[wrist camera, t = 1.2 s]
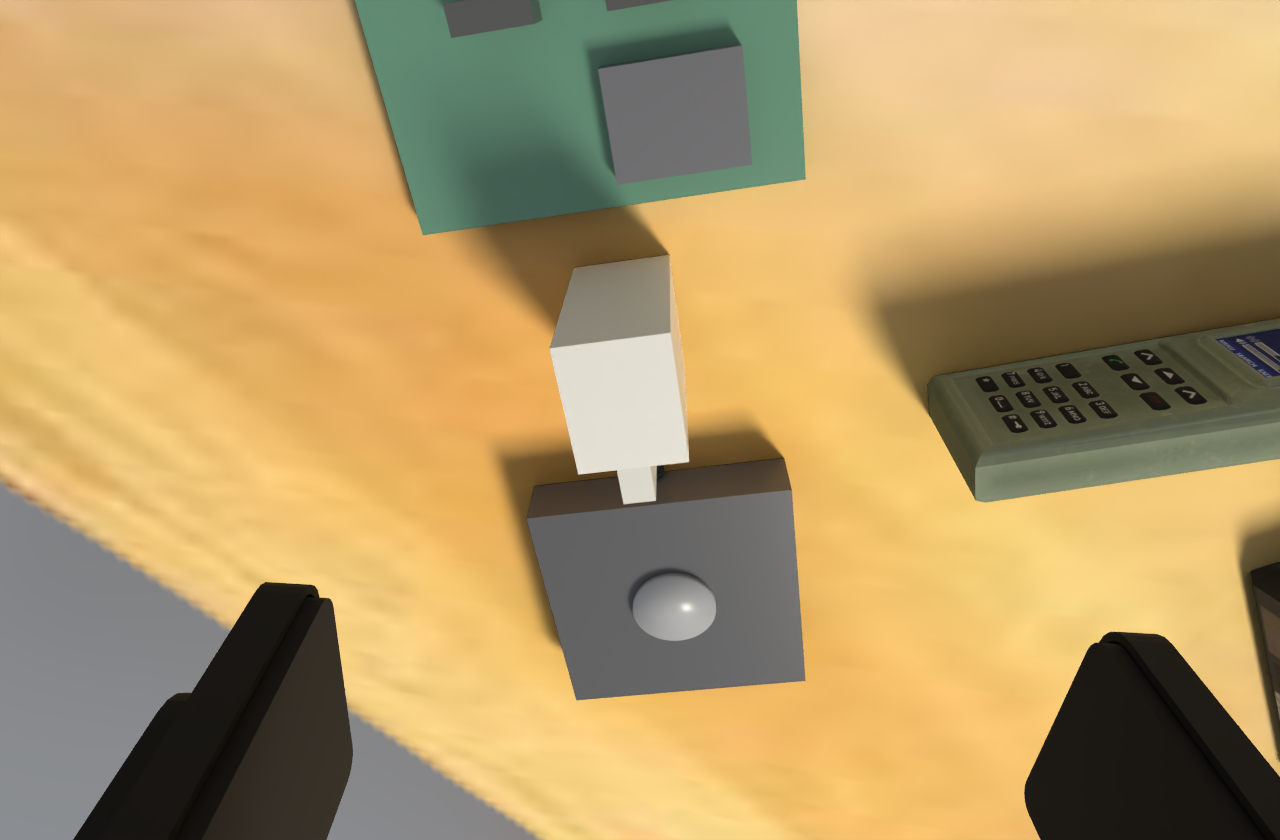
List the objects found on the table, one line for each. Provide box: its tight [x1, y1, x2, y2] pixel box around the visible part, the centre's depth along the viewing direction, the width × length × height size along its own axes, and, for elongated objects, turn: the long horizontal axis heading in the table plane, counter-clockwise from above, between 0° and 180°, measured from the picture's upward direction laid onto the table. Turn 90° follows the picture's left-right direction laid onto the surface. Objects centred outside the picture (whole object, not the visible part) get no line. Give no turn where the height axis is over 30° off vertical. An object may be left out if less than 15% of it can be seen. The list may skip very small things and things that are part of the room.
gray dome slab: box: [526, 458, 805, 700], centre depth 39 cm, size 12×15×3 cm
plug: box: [550, 255, 689, 504], centre depth 31 cm, size 4×6×8 cm, turn 9°
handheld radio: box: [927, 318, 1280, 502], centre depth 32 cm, size 7×3×25 cm
